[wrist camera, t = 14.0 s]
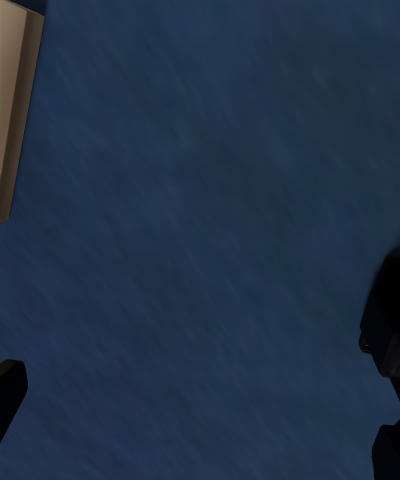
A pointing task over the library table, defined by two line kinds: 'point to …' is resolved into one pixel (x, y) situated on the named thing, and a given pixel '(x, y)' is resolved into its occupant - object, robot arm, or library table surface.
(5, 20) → the cork pad
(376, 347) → the robot arm
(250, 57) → the library table surface
